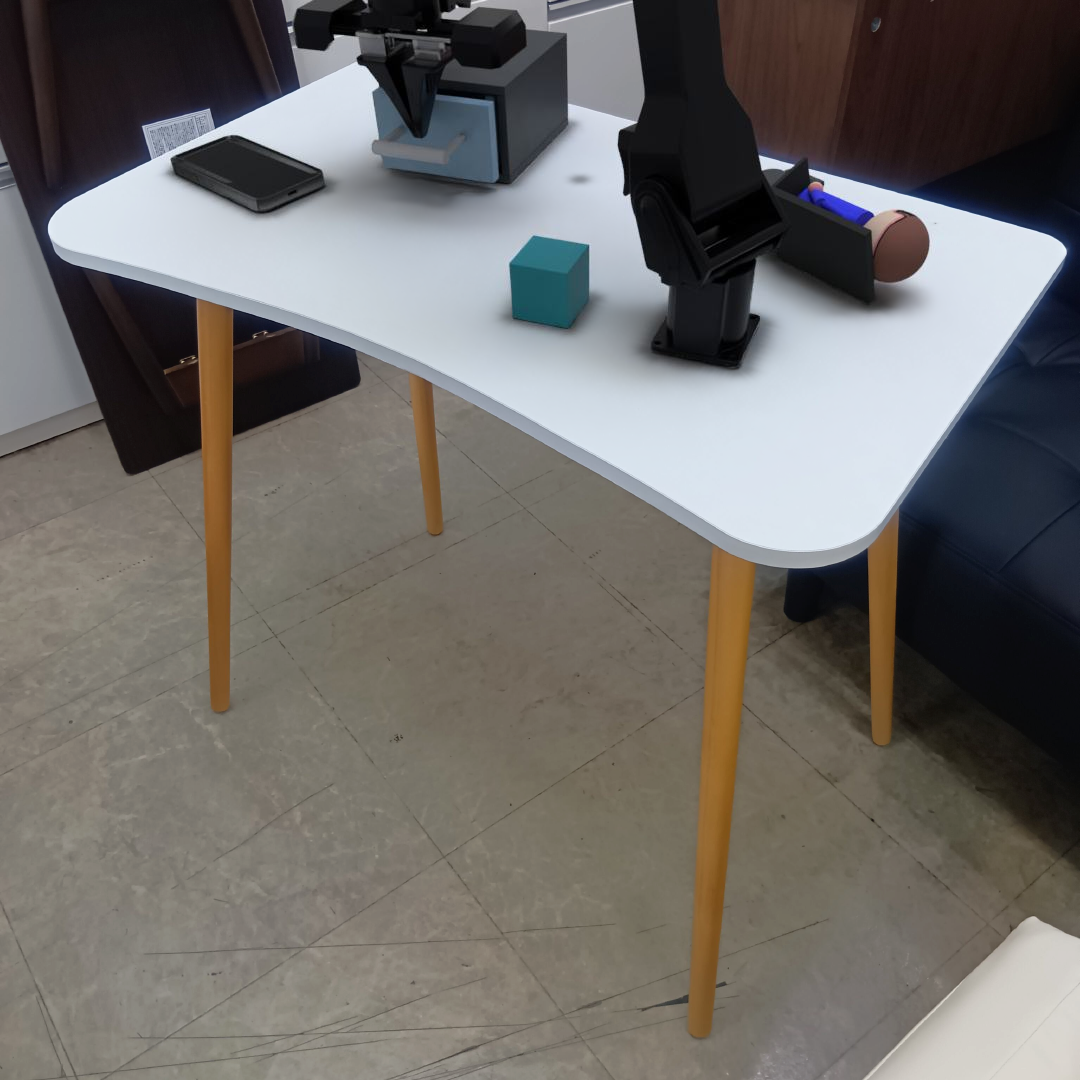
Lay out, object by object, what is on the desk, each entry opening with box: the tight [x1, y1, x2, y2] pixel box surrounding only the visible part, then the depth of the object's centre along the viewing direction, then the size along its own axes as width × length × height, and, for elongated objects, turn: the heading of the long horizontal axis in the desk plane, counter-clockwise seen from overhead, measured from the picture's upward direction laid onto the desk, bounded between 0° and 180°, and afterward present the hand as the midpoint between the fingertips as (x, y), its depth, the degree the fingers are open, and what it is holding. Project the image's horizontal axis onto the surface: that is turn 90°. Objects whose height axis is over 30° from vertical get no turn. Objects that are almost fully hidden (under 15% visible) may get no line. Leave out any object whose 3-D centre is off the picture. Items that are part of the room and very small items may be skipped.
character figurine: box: [762, 156, 931, 306], centre depth 73 cm, size 8×7×15 cm
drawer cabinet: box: [378, 28, 569, 185], centre depth 93 cm, size 15×13×9 cm
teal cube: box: [508, 235, 590, 329], centre depth 72 cm, size 4×4×4 cm
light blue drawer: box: [371, 86, 501, 184], centre depth 89 cm, size 18×11×7 cm, turn 157°
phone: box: [170, 134, 326, 213], centre depth 91 cm, size 8×1×15 cm
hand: (420, 136), depth 84 cm, fingers closed
